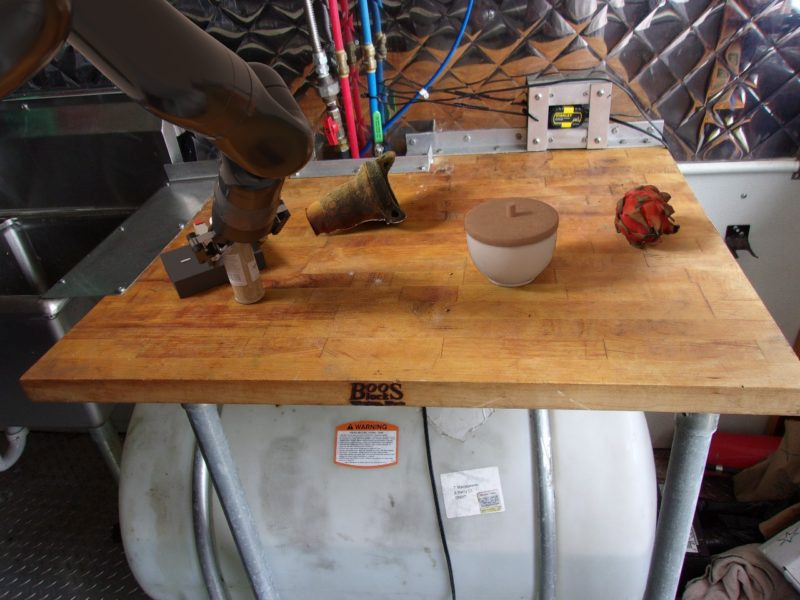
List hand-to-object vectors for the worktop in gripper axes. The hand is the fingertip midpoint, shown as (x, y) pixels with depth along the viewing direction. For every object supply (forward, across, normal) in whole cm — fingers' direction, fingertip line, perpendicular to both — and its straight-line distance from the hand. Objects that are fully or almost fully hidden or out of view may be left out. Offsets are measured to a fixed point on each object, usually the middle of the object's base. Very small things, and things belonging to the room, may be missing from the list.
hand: (233, 253), depth 85 cm
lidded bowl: (-13, +31, -23) cm, 40 cm away
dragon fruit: (-18, +51, -28) cm, 61 cm away
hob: (+12, -1, +3) cm, 12 cm away
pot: (+9, +27, -1) cm, 28 cm away
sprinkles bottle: (+4, 0, -6) cm, 7 cm away
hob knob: (+10, -1, +5) cm, 11 cm away
